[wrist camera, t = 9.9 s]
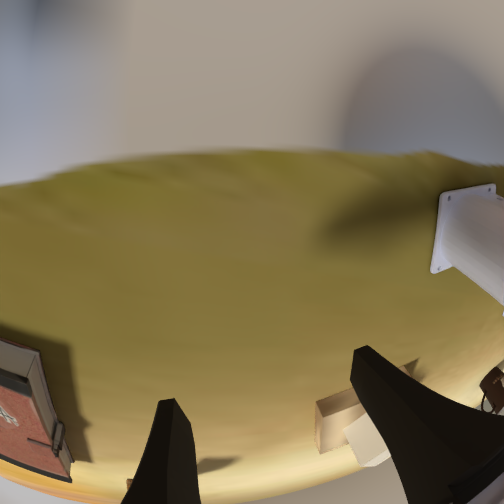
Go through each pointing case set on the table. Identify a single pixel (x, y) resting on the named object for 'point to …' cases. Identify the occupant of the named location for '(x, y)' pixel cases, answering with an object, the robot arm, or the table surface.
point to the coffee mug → (493, 390)
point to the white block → (366, 442)
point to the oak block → (337, 418)
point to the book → (30, 415)
